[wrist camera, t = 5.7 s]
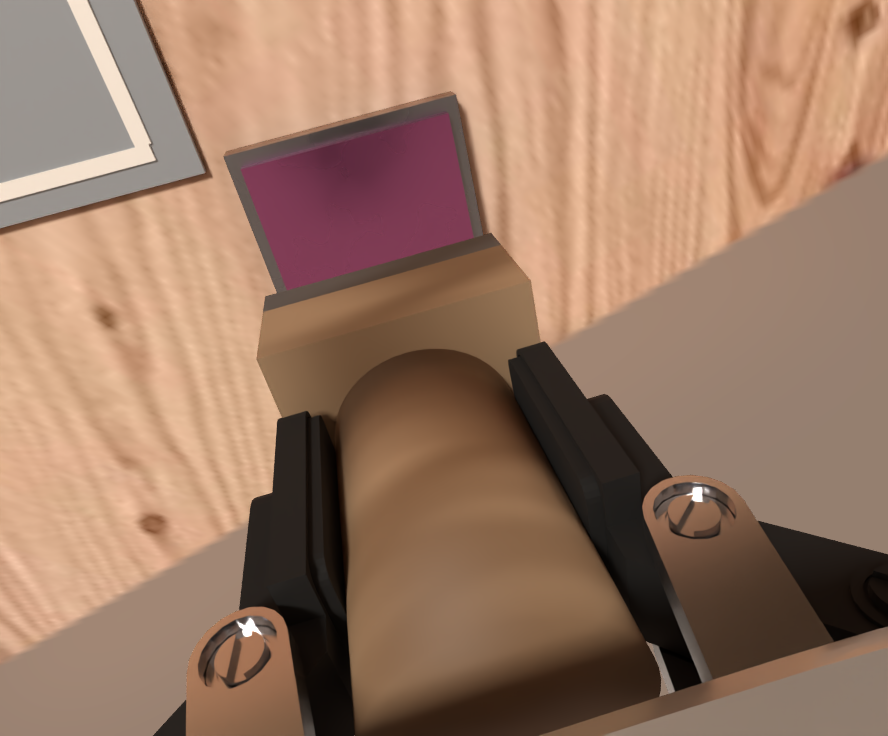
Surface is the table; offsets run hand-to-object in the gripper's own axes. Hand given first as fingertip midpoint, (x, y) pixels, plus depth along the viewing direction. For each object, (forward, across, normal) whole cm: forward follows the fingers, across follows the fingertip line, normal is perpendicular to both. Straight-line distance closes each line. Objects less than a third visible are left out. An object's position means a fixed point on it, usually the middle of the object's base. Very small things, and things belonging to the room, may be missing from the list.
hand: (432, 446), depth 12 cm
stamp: (+3, 0, 0) cm, 3 cm away
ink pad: (+17, 0, 0) cm, 17 cm away
